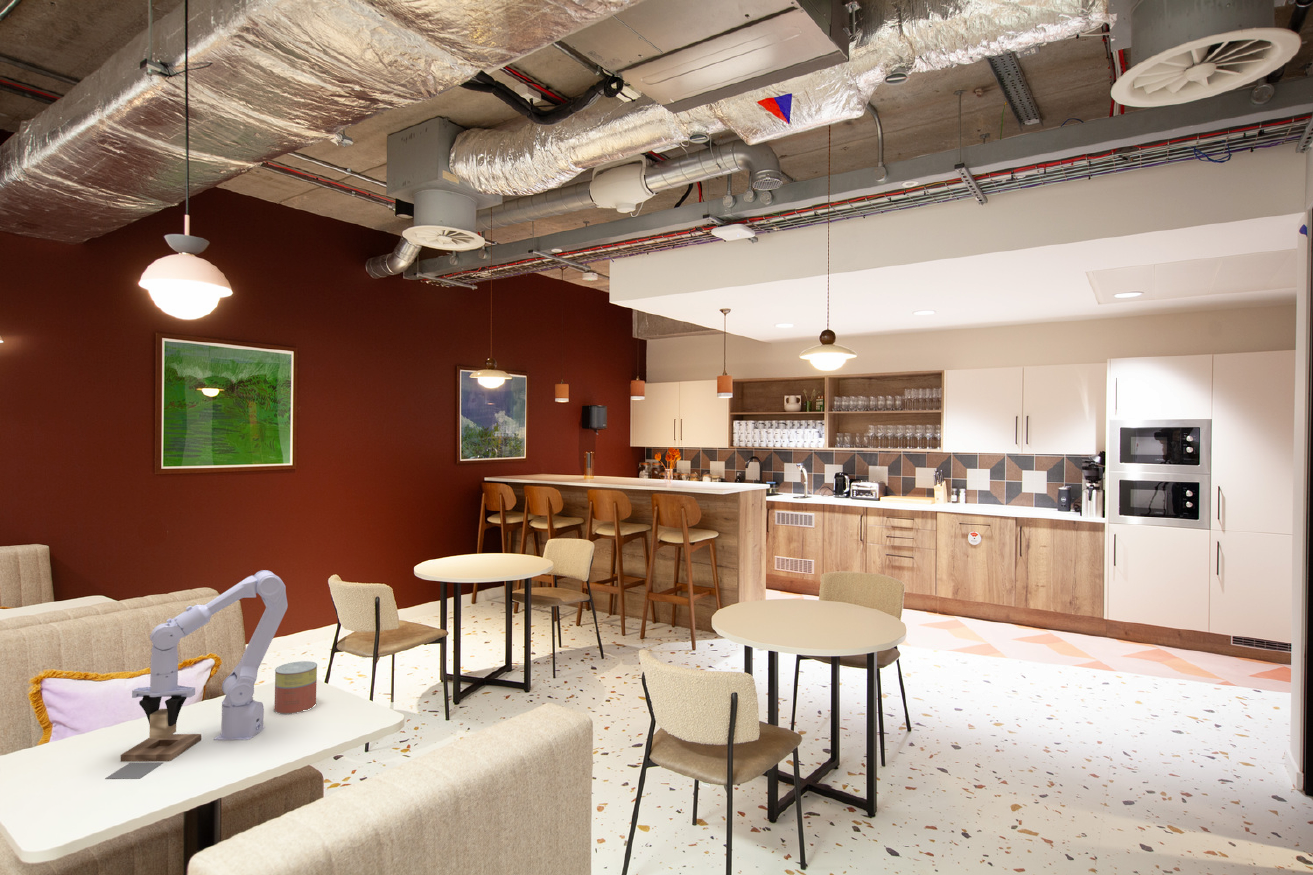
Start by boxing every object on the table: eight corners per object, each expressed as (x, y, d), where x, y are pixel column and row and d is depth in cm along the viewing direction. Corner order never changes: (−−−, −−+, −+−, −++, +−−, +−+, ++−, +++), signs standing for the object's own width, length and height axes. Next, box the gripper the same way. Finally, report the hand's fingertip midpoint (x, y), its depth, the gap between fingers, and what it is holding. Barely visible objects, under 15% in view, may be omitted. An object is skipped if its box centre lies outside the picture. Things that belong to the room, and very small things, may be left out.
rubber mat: (163, 764, 166) (163, 762, 166) (140, 780, 158) (140, 778, 158) (130, 764, 165) (130, 762, 165) (104, 780, 157) (104, 778, 157)
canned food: (324, 700, 208) (324, 662, 209) (301, 715, 197) (302, 674, 197) (289, 699, 209) (290, 660, 210) (265, 713, 198) (266, 672, 198)
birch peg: (176, 731, 175) (176, 708, 175) (165, 738, 171) (166, 714, 171) (160, 731, 174) (160, 708, 175) (149, 738, 170) (149, 714, 171)
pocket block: (201, 741, 179) (201, 733, 179) (170, 762, 167) (170, 754, 167) (154, 741, 178) (154, 734, 178) (120, 762, 166) (120, 754, 166)
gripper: (123, 676, 168) (122, 731, 168) (183, 676, 169) (181, 730, 169) (143, 667, 176) (142, 720, 175) (200, 667, 176) (199, 719, 176)
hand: (163, 724), depth 173 cm, fingers closed on birch peg, 4 cm apart
